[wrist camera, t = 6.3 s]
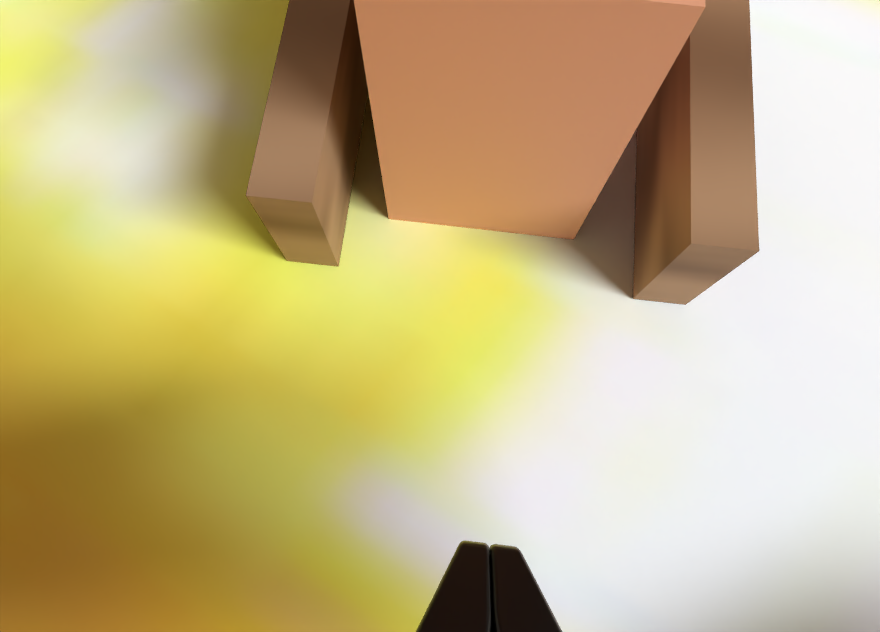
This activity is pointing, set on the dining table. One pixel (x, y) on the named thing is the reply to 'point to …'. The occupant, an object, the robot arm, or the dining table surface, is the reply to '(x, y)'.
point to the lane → (657, 157)
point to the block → (511, 103)
